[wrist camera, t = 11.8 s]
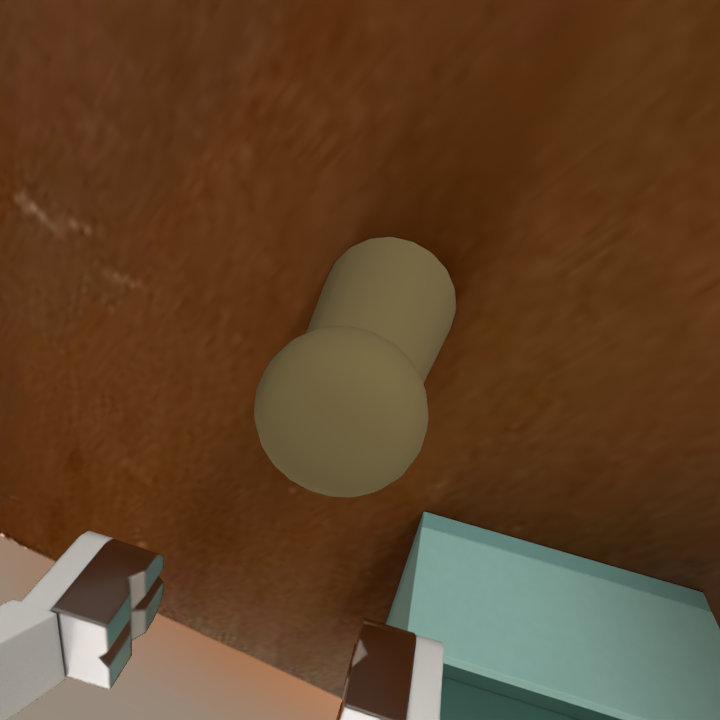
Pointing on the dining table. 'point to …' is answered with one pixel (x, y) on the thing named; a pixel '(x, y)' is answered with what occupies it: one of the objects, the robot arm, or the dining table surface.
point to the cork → (358, 372)
